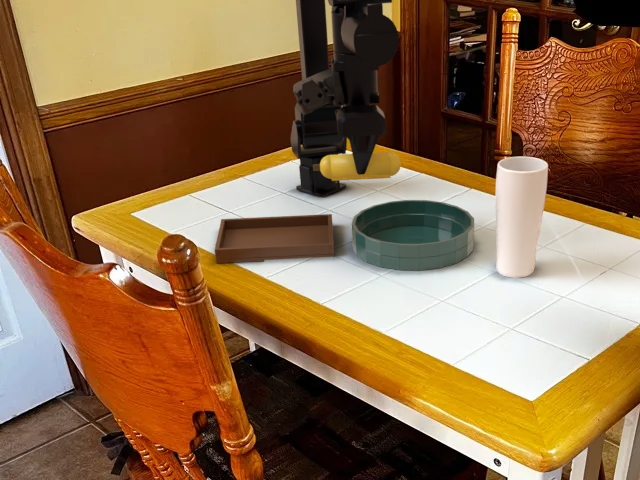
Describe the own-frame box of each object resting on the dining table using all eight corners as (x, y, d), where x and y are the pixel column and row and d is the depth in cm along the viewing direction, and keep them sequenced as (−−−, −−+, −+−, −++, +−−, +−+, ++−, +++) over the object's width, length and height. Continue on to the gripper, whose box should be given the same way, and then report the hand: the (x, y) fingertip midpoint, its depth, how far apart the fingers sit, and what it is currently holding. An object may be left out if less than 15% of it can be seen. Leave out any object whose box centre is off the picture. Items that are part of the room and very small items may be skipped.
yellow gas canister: (399, 171, 123) (399, 148, 121) (402, 178, 120) (401, 155, 118) (313, 175, 122) (312, 152, 120) (314, 182, 119) (312, 159, 117)
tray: (332, 226, 133) (331, 213, 132) (334, 257, 124) (333, 244, 123) (223, 232, 132) (221, 218, 131) (216, 263, 123) (214, 249, 121)
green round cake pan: (405, 216, 137) (405, 191, 134) (496, 243, 127) (498, 217, 125) (328, 251, 126) (326, 225, 123) (422, 283, 117) (422, 255, 114)
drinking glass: (543, 265, 121) (553, 158, 112) (533, 284, 116) (543, 174, 106) (497, 259, 123) (503, 154, 113) (485, 278, 117) (491, 169, 108)
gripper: (293, 37, 117) (303, 152, 127) (293, 68, 103) (304, 195, 112) (373, 35, 118) (376, 149, 128) (384, 65, 104) (387, 191, 113)
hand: (360, 170), depth 120 cm, fingers closed on yellow gas canister, 3 cm apart
